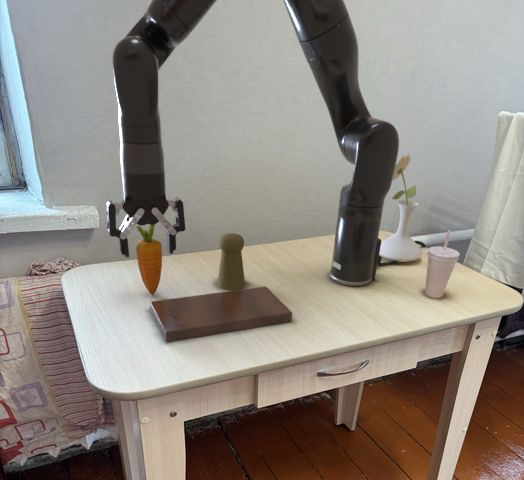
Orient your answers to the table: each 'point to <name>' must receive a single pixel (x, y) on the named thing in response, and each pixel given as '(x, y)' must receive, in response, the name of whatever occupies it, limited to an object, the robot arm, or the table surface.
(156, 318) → the cutting board
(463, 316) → the table surface
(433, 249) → the smoothie
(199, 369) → the table surface
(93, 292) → the table surface
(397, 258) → the flower in vase
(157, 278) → the carrot
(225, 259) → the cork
